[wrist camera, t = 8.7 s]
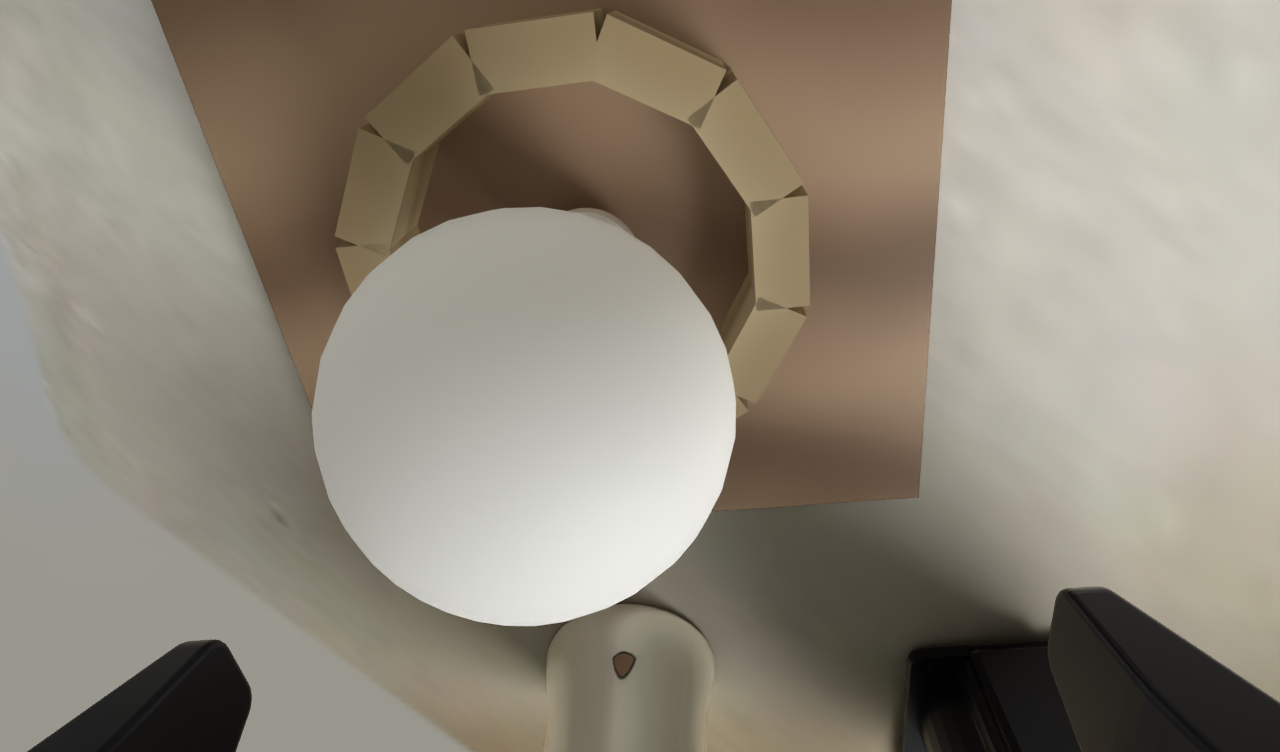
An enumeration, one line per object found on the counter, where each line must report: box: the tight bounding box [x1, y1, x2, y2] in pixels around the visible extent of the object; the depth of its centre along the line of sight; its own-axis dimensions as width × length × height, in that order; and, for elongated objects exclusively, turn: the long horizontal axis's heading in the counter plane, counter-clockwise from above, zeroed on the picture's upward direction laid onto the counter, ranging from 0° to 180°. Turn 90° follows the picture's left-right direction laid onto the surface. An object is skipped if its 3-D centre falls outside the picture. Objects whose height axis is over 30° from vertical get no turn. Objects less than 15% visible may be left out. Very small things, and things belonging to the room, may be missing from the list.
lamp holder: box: [151, 0, 952, 512], centre depth 18 cm, size 17×17×3 cm
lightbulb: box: [312, 207, 736, 626], centre depth 13 cm, size 6×6×11 cm
